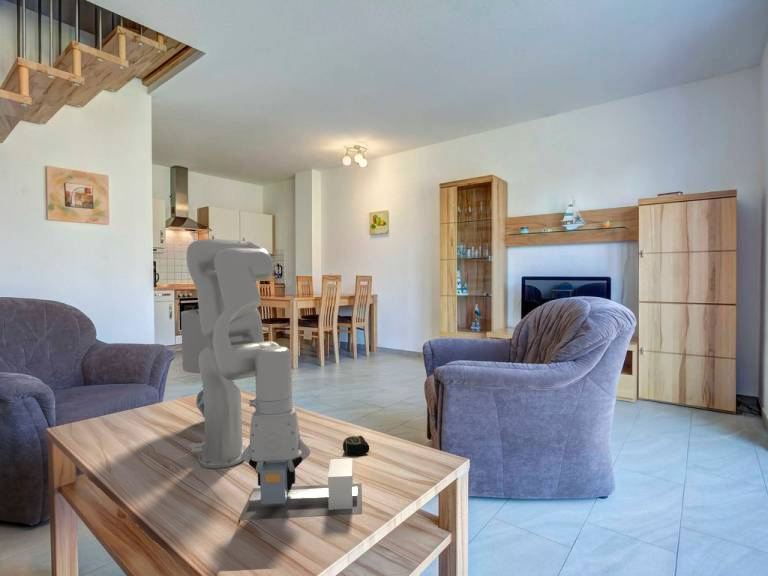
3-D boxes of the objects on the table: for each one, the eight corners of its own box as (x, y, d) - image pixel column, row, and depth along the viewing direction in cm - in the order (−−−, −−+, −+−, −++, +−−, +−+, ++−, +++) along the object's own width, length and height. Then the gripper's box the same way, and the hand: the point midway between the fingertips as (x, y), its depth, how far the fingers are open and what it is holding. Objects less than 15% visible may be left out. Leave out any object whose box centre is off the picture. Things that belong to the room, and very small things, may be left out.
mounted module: (328, 509, 85) (328, 477, 85) (331, 489, 93) (330, 459, 93) (352, 508, 85) (352, 475, 85) (352, 488, 93) (352, 458, 93)
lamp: (183, 416, 144) (180, 309, 143) (246, 406, 154) (243, 306, 153) (186, 438, 125) (182, 315, 124) (257, 425, 135) (254, 311, 134)
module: (260, 505, 84) (259, 471, 83) (269, 484, 92) (268, 454, 92) (285, 503, 84) (284, 470, 84) (291, 483, 92) (290, 453, 92)
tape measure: (370, 456, 112) (370, 443, 112) (345, 460, 110) (345, 446, 110) (363, 446, 118) (363, 433, 118) (340, 449, 116) (340, 436, 116)
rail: (248, 507, 86) (248, 500, 86) (253, 498, 90) (252, 491, 90) (357, 502, 88) (357, 495, 88) (357, 493, 91) (357, 486, 91)
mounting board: (238, 524, 82) (238, 519, 82) (253, 492, 94) (253, 488, 94) (362, 518, 83) (362, 513, 83) (361, 487, 95) (361, 483, 95)
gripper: (228, 412, 83) (231, 499, 84) (312, 408, 84) (314, 494, 85) (239, 400, 91) (241, 481, 91) (316, 397, 92) (318, 477, 92)
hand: (276, 486), depth 88 cm, fingers closed on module, 5 cm apart
